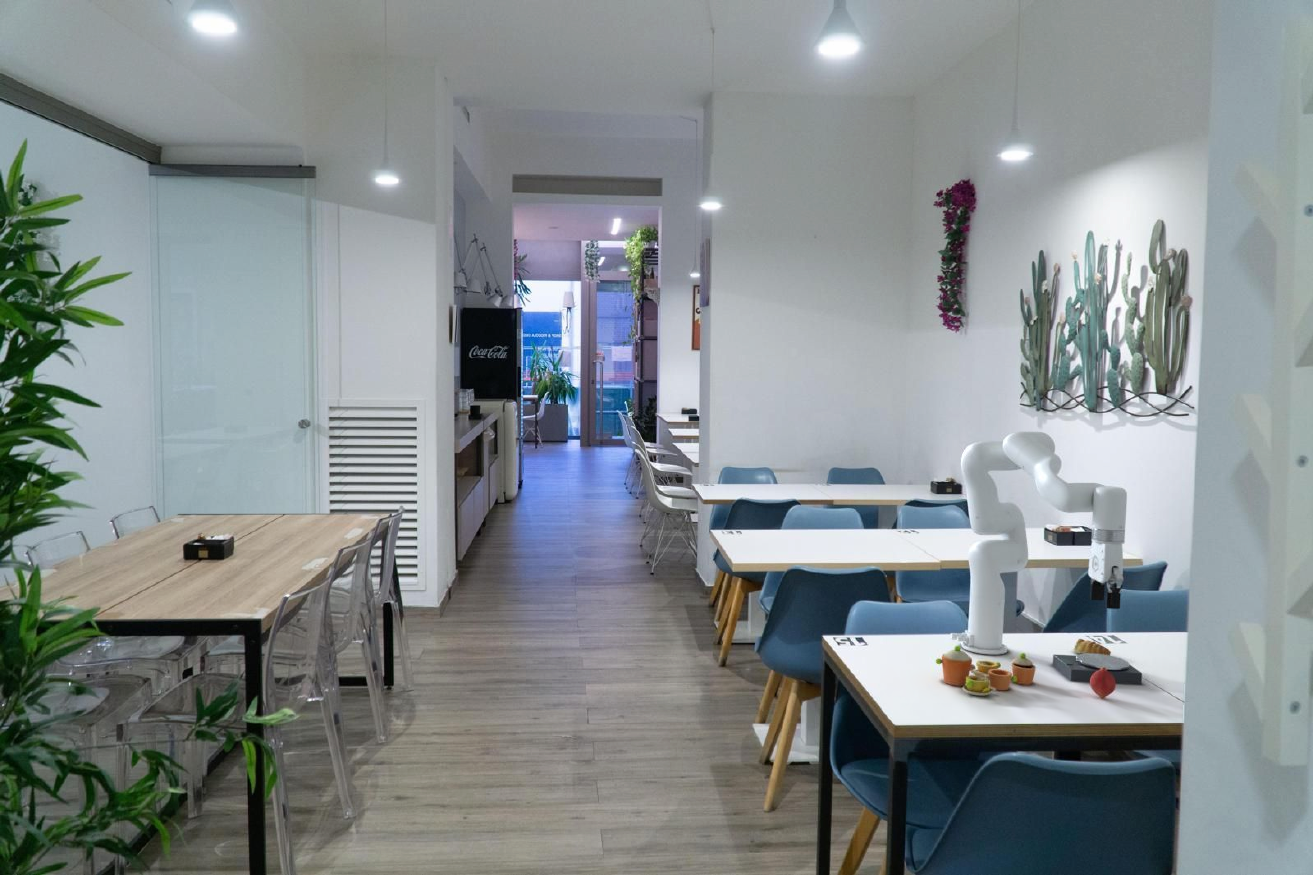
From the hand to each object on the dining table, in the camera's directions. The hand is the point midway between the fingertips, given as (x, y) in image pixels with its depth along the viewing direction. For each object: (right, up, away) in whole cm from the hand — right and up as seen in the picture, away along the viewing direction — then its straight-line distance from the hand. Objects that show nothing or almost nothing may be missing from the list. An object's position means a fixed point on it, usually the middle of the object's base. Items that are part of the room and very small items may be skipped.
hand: (1104, 604), depth 248 cm
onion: (-2, -23, -2) cm, 23 cm away
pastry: (+13, -21, +37) cm, 44 cm away
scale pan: (+7, -18, +17) cm, 26 cm away
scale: (+5, -22, +17) cm, 28 cm away
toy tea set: (-27, -22, +6) cm, 35 cm away
